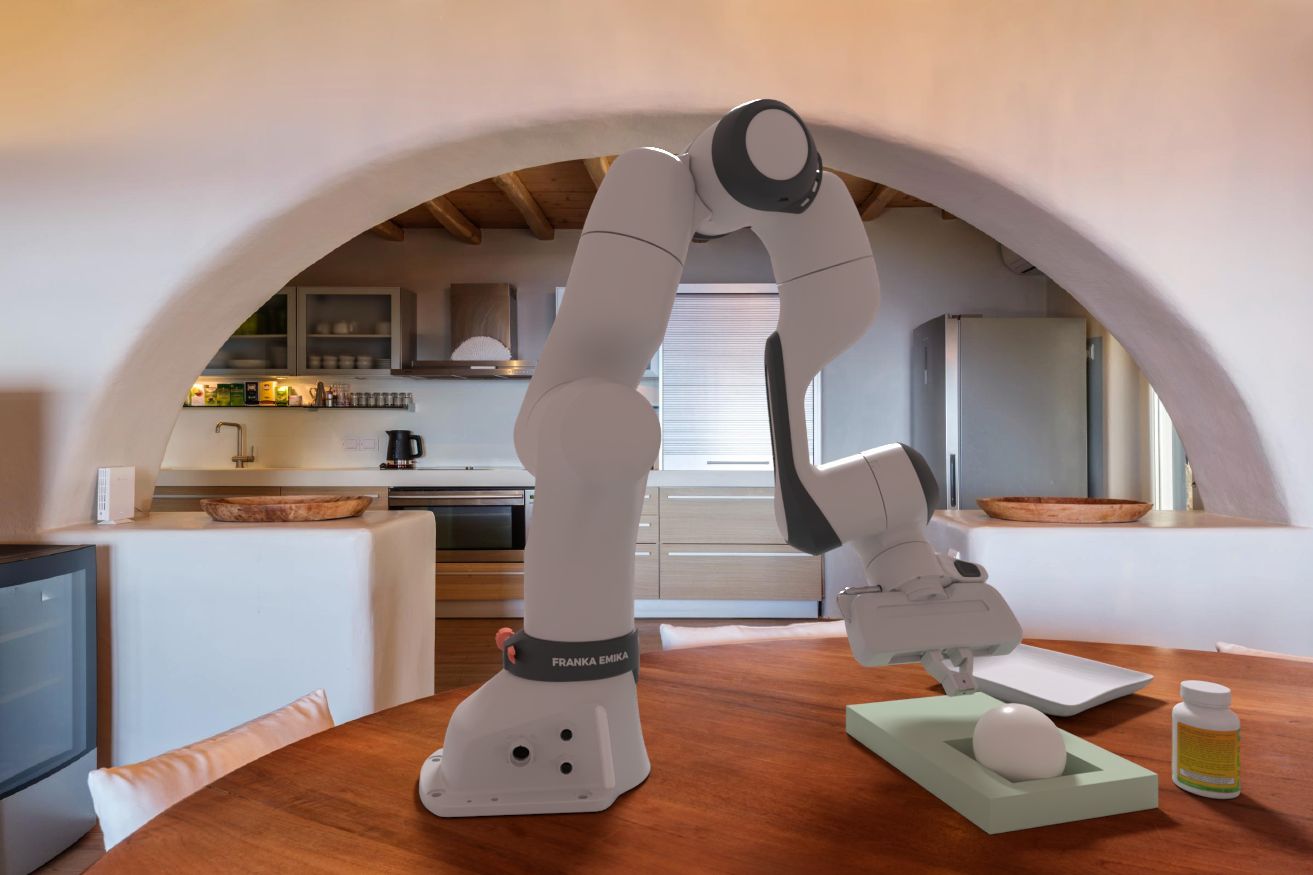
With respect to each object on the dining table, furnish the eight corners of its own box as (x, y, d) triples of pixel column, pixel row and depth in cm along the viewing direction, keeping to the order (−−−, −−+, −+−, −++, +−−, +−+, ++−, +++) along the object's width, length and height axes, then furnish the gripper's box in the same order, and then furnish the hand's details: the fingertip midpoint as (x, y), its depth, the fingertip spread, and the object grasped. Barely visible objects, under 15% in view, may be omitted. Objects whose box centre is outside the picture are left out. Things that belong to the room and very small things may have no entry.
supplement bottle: (1252, 803, 72) (1252, 697, 72) (1187, 797, 73) (1187, 693, 73) (1222, 778, 77) (1223, 679, 77) (1162, 773, 78) (1162, 676, 78)
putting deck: (989, 834, 66) (989, 798, 66) (846, 731, 89) (846, 705, 89) (1158, 807, 71) (1158, 774, 71) (980, 716, 94) (980, 691, 94)
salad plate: (1158, 698, 102) (1158, 672, 102) (1072, 733, 90) (1072, 703, 90) (1006, 660, 120) (1006, 638, 120) (917, 685, 108) (917, 660, 108)
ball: (944, 751, 74) (980, 784, 78) (1023, 790, 68) (1059, 823, 72) (979, 677, 77) (1014, 712, 80) (1060, 707, 70) (1093, 744, 74)
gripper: (840, 572, 88) (889, 686, 78) (995, 564, 93) (1058, 670, 84) (821, 604, 92) (865, 716, 83) (970, 595, 98) (1027, 699, 88)
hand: (964, 693), depth 83 cm, fingers closed
